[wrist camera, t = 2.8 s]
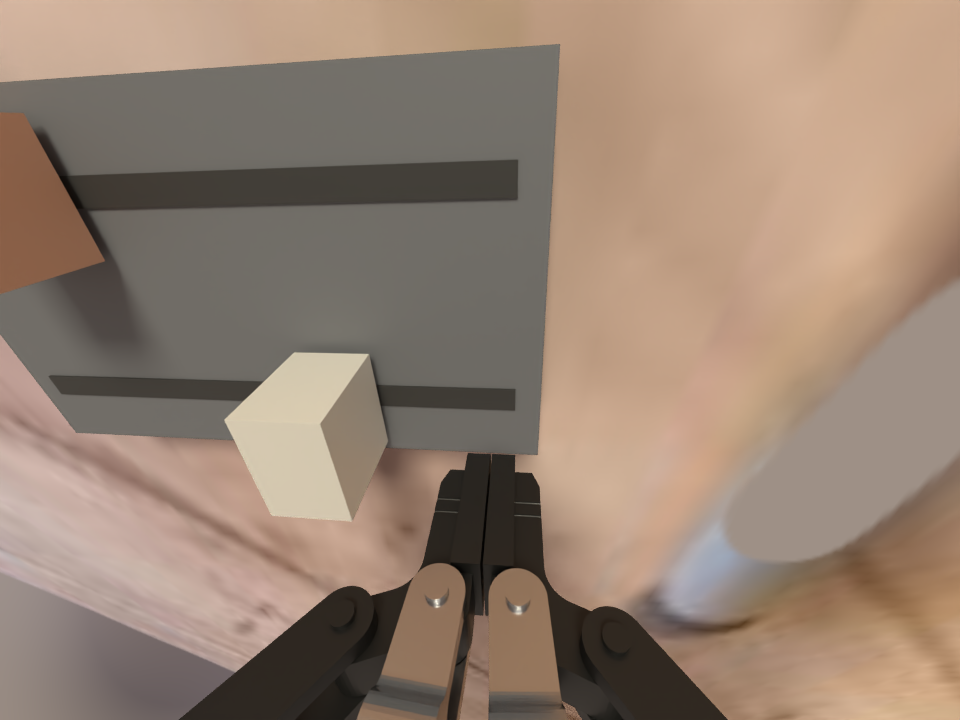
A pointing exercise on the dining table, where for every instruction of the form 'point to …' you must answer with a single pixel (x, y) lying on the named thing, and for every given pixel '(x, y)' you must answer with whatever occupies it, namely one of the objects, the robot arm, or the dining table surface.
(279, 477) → the cream fader
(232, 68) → the fader console
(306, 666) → the robot arm
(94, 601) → the dining table surface
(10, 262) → the terracotta fader
